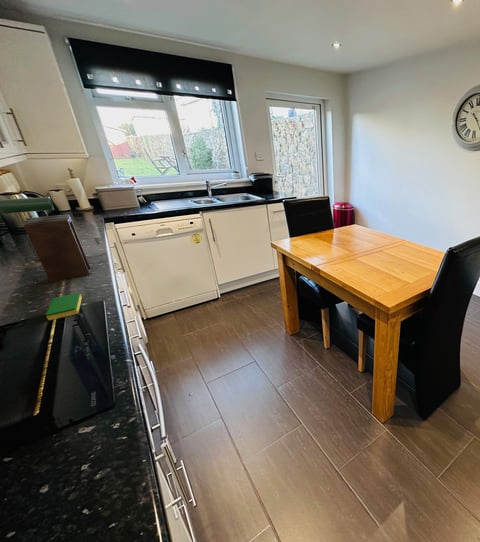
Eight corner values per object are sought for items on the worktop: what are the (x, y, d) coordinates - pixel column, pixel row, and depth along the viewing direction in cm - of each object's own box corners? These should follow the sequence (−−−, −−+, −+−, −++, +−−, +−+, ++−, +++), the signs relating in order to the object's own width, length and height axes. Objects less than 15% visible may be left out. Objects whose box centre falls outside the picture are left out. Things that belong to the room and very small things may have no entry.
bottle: (-33, 217, 98) (-41, 203, 96) (-28, 214, 101) (-35, 200, 99) (53, 211, 110) (47, 198, 108) (54, 208, 114) (49, 196, 112)
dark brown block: (50, 282, 114) (21, 222, 104) (53, 274, 121) (27, 217, 111) (90, 275, 121) (66, 218, 111) (90, 268, 128) (69, 213, 118)
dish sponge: (48, 321, 90) (45, 315, 89) (55, 303, 100) (52, 297, 99) (78, 314, 94) (75, 308, 93) (82, 298, 104) (79, 292, 103)
